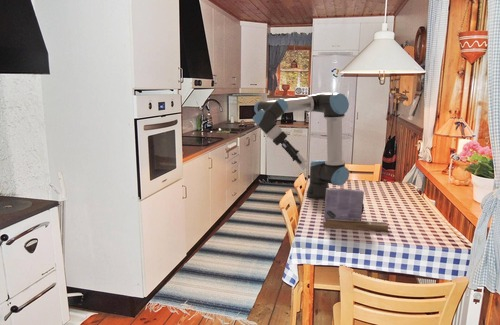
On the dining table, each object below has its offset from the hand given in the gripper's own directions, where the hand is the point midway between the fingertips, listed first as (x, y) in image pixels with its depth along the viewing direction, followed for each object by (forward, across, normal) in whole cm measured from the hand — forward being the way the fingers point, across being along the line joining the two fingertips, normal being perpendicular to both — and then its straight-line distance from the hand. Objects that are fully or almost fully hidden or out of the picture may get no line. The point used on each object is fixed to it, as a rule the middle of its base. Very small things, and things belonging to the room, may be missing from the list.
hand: (305, 165), depth 193 cm
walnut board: (+37, +13, -2) cm, 39 cm away
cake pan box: (+34, +8, -5) cm, 35 cm away
